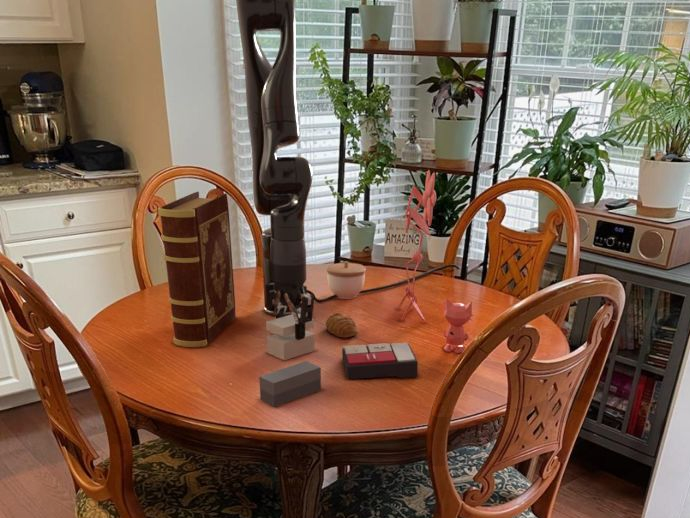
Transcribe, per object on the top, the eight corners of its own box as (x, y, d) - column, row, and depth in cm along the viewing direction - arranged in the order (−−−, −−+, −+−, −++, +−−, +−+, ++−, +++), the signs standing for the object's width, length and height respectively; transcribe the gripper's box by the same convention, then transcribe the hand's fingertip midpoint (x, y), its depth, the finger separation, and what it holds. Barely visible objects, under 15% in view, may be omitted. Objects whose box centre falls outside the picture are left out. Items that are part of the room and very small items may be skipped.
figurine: (400, 332, 175) (408, 179, 157) (391, 300, 197) (398, 163, 179) (462, 332, 176) (477, 180, 158) (446, 300, 198) (458, 164, 180)
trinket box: (320, 298, 197) (320, 264, 192) (336, 288, 206) (336, 255, 201) (355, 303, 194) (356, 269, 189) (370, 293, 202) (371, 259, 197)
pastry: (363, 337, 171) (364, 322, 169) (338, 341, 169) (338, 325, 167) (347, 325, 179) (347, 310, 177) (322, 328, 176) (322, 313, 174)
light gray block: (297, 343, 167) (297, 327, 165) (314, 350, 163) (314, 334, 161) (267, 353, 161) (266, 336, 159) (284, 360, 158) (283, 343, 156)
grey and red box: (341, 344, 157) (408, 339, 158) (342, 362, 159) (408, 357, 160) (346, 363, 147) (418, 358, 149) (347, 382, 150) (417, 377, 151)
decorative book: (203, 349, 162) (189, 211, 147) (170, 346, 164) (153, 208, 148) (237, 318, 181) (228, 193, 165) (207, 315, 182) (196, 190, 167)
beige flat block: (297, 321, 164) (296, 312, 163) (314, 327, 160) (314, 319, 159) (266, 329, 158) (265, 321, 157) (283, 336, 155) (282, 328, 154)
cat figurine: (471, 347, 167) (477, 297, 161) (465, 357, 162) (470, 305, 155) (442, 343, 169) (447, 293, 163) (435, 353, 164) (439, 301, 157)
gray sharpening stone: (306, 383, 147) (306, 360, 145) (321, 390, 145) (320, 367, 142) (260, 399, 140) (259, 376, 137) (274, 407, 137) (273, 383, 135)
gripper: (324, 263, 149) (324, 339, 158) (280, 250, 158) (283, 323, 167) (296, 269, 145) (298, 347, 153) (253, 255, 153) (257, 330, 162)
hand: (290, 334), depth 160 cm, fingers closed on beige flat block, 6 cm apart
